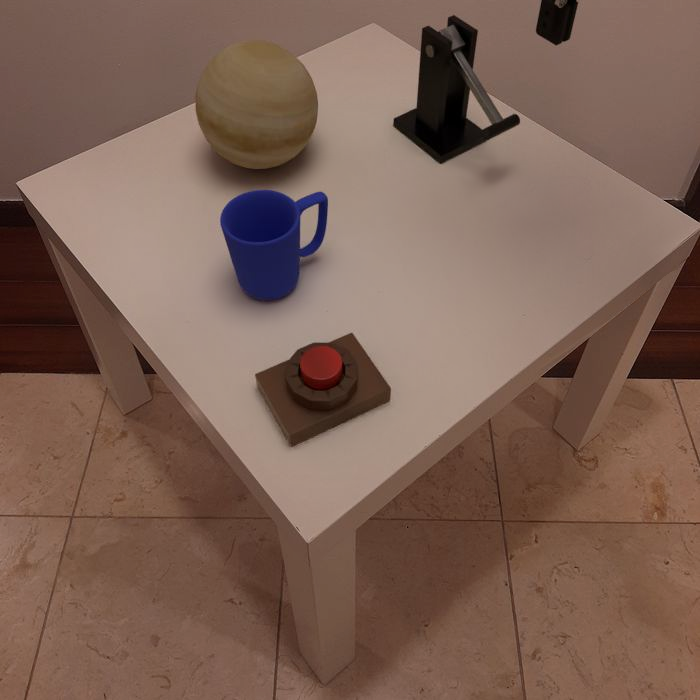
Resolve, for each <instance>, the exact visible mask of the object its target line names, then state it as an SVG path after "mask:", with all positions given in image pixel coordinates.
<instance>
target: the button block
mask: <svg viewBox="0 0 700 700" xmlns="http://www.w3.org/2000/svg"><path fill="white" fill-rule="evenodd" d="M316 346H327V347H330V348H333V349H334V350H336V351H337V352H338V353H339V354H340V356H341V358H342V377H341V379H340V381H339V382H338V383H337V384H336V385H335V386H333V387H331V388H329V389H324V390H319V389H314V388H311V387H309V386H308V385H307V384H306V383H305V382H304V381H303V379H302V376H301V368H300V360H301V358H302V356H303V354H304V353H305V352H306V351H307V350H309V349H311V348H313V347H316ZM254 377H255V382H256V387H257V389H258V390H259V392H260V395H261V397H262V398H263V400H264V401H265V403H266V405H267V406H268V408H269V411H270V412H271V414H272V415H273V418H275V421H276V423H277V425H278V426H279V428H280V429H281V431H282V433H283V435H284V437H285V438H286V440H287V442H288V444H289V446H290V447H295V446H296V445H299V444H301V443H303V442H305V441H307V440H309V439H311V438H313V437H316V436H318V435H320V434H322V433H325V432H326V431H329V430H330V429H332V428H336V427H337V426H339V425H342V424H344V423H346V422H348V421H350V420H353V419H354V418H356V417H358V416H361V415H363V414H365V413H367V412H369V411H372V410H373V409H375V408H377V407H380V406H381V405H384V404H386V403H389V402H391V395H392V388H391V386H390V385H389V383H388V382H387V380H386V379H385V377H384V376H383V375H382V373H381V372H380V370H379V368H378V367H377V366H376V365H375V363H374V362H373V360H372V359H371V357H370V356H369V355H368V353H367V352H366V350H365V349H364V348H363V346H362V344H361V343H360V342H359V340H358V339H357V337H356V335H355V334H354V333H353V332H349V333H347V334H345V335H343V336H340V337H338V338H336V339H333V340H331V341H329V342H312V343H309V344H307V345H304V346H302V347H299V348H298V349H296V351H295V352H294V353H293V355H292V356H291V357H290V358H289V359H287V360H285V361H282V362H279V363H278V364H275V365H273V366H270V367H268V368H266V369H264V370H261V371H259V372H256V373H255V374H254Z"/></svg>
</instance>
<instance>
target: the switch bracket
mask: <svg viewBox="0 0 700 700" xmlns="http://www.w3.org/2000/svg"><path fill="white" fill-rule="evenodd" d="M451 25H454V26H455V28H456V29H457V31H458V33H459V34H460V36H461V37H462V39H463V41H464V42H465V45H464V47H463V48H462V50H461V52H462V54H463V55H464V57H465V59H466V60H467V62H468V63H469V65H470V67H471V68H472V70H473V71H474V64H475V56H476V48H477V42H478V35H479V34H478V33H479V29H476V28H475V27H473V26H472V25H471V24H469V23H467V22H466V21H464V20H463V19H461V18H460V17H458V16H457V15H455V14H453V15H450V16H448V17H447V24H446V28H447V27H449V26H451ZM420 39H421V40H420V51H419V66H418V67H419V69H418V80H417V81H418V82H417V94H416V95H417V96H416V107H415V108H413V109H411V110H408V111H406V112H404V113H402V114H400V115H397V116H395V117H394V118H393V122H392V123H393V124H392V126H393V127H394V128H395V129H396V130H398V131H399V132H400V133H401V134H403V135H404V136H405V137H407V138H408V140H410V141H412V142H413V144H415V145H416V146H417V147H419V148H420V149H421V150H423V151H424V152H425V153H427V154H428V156H430V157H431V158H432V159H434V160H435V161H437V162H438V163H439V165H440V164H443V163H445V162H446V161H449V160H451V159H453V158H455V157H457V156H459V155H461V154H463V153H465V152H467V151H469V150H471V149H473V148H475V147H477V146H479V145H482V144H483V143H484V142H487V141H488V140H485V139H484V138H483V137H482V130H483V129H482V128H481V127H480V126H479V125H477V124H475V122H473V121H472V120H470V119H469V118H468V116H467V115H468V107H469V101H470V93H471V90H470V88H469V87H468V85H467V83H466V82H465V80H464V79H463V77H462V75H461V74H460V72H459V71H458V69H457V67H456V66H455V64H454V62H453V61H452V59H451V50H452V41H451V40H450V39H448V38H447V37H445V36H444V35H442V34H441V33H439V31H437V30H436V29H435V28H433V27H432V26H430V25H427V26H423V27H422V28H421V38H420Z"/></svg>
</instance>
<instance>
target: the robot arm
mask: <svg viewBox="0 0 700 700" xmlns="http://www.w3.org/2000/svg"><path fill="white" fill-rule="evenodd" d="M578 6H579V2H578V0H540V6H539V11H538V15H537V22H536V26H535V34H536V35H538V36H539V37H541V38H543V39H544V40H546V41H548V42H549V43H551V44H552V45H554V46H559V45H562V43H565V42H567V41H569V40H571V35H572V32H573V27H574V22H575V19H576V14H577V10H578Z"/></svg>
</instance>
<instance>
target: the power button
mask: <svg viewBox="0 0 700 700" xmlns="http://www.w3.org/2000/svg"><path fill="white" fill-rule="evenodd" d="M300 368H301V376H302V379H303V381H304V382H305V383H306V384H307V385H308V386H309V387H311V388H314V389H319V390H324V389H329V388H331V387H333V386H335V385H336V384H337V383H338V382H339V381H340V379H341V377H342V358H341V356H340V354H339V353H338V352H337V351H336V350H334V349H333V348H330V347H327V346H316V347H313V348H311V349H309V350H307V351H306V352H305V353H304V354H303V356H302V358H301V360H300Z"/></svg>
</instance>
